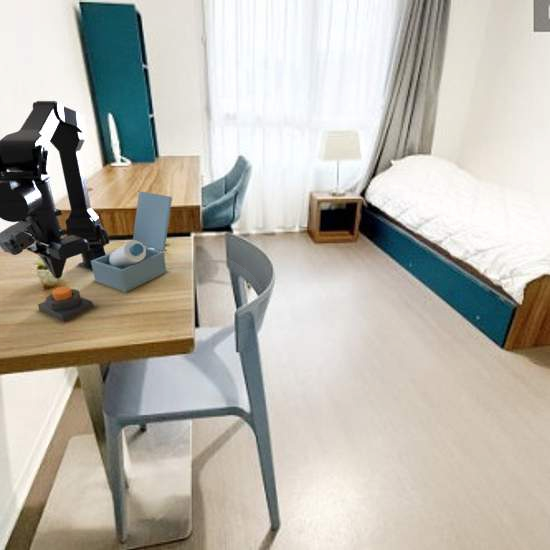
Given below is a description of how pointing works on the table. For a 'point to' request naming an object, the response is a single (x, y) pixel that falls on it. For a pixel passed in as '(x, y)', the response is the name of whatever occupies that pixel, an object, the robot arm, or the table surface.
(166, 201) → the blue-grey box lid
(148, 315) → the table surface
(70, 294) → the button
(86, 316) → the table surface
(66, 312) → the control block
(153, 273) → the blue open box
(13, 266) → the table surface
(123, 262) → the detergent bottle
